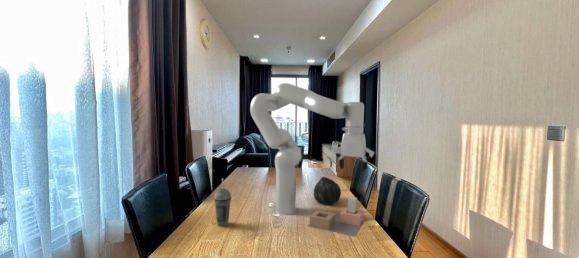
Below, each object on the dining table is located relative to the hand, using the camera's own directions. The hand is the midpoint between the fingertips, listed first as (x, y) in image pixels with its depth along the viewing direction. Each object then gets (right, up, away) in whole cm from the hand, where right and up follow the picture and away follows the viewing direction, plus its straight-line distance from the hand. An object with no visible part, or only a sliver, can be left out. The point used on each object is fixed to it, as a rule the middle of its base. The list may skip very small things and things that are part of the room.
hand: (352, 169), depth 118 cm
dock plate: (-7, -24, -1) cm, 25 cm away
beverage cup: (-57, -24, -2) cm, 61 cm away
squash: (-7, -23, +29) cm, 38 cm away
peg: (0, -23, +1) cm, 23 cm away
